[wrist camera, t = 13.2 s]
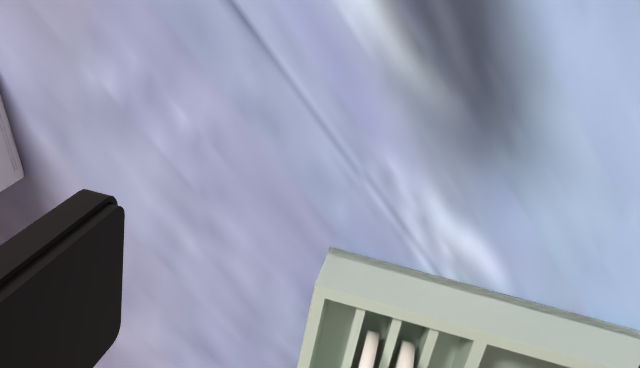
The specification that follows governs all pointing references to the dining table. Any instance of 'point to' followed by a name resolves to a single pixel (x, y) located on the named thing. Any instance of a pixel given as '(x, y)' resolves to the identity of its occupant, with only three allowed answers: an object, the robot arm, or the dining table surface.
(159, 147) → the dining table surface
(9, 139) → the tea box
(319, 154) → the dining table surface
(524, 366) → the dish rack
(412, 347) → the racked plates
